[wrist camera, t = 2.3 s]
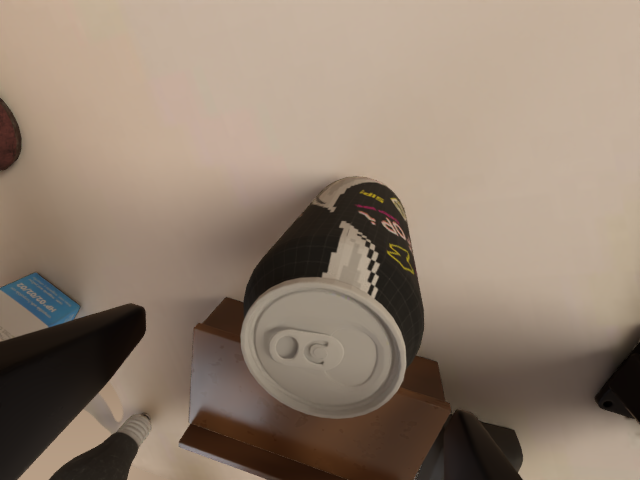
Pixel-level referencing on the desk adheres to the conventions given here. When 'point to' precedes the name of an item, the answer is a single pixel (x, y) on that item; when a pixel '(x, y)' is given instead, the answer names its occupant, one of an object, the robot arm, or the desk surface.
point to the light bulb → (109, 454)
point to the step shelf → (302, 418)
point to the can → (8, 137)
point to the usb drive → (505, 438)
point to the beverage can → (336, 304)
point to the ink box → (32, 307)
